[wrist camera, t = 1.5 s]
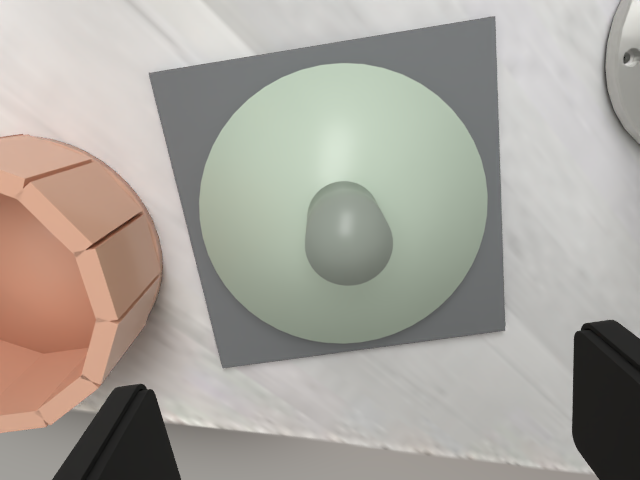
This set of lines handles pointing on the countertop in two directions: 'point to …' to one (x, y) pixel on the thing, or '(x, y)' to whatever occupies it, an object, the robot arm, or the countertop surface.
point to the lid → (343, 203)
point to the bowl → (67, 277)
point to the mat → (381, 51)
